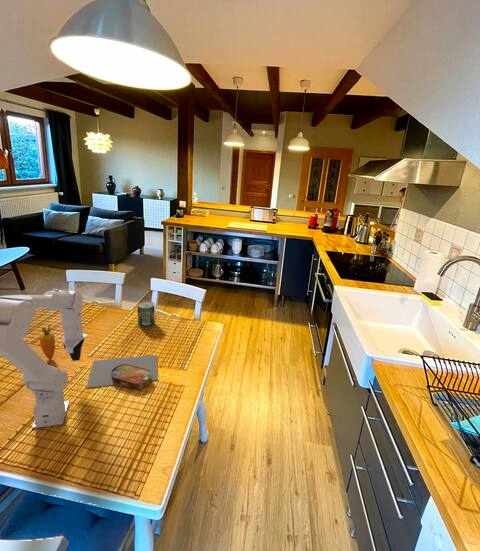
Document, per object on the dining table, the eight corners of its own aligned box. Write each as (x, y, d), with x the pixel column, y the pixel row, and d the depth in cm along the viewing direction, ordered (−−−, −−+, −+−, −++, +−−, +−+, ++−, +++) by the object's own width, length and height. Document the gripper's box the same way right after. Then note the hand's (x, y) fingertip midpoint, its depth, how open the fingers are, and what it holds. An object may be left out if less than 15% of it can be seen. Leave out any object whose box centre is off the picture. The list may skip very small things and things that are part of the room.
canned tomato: (135, 323, 152) (134, 303, 148) (150, 319, 157) (149, 299, 153) (142, 330, 147) (141, 309, 143) (157, 325, 152) (157, 305, 148)
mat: (157, 380, 114) (157, 379, 114) (86, 388, 108) (86, 387, 107) (156, 355, 129) (156, 354, 129) (93, 361, 122) (93, 360, 122)
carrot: (54, 354, 124) (49, 320, 119) (59, 359, 121) (55, 325, 116) (40, 359, 121) (35, 325, 116) (46, 364, 118) (40, 330, 113)
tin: (105, 375, 110) (120, 360, 118) (106, 381, 112) (121, 367, 119) (142, 386, 107) (155, 370, 114) (143, 393, 108) (156, 377, 115)
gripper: (81, 335, 97) (85, 371, 102) (89, 314, 110) (92, 347, 115) (56, 336, 95) (61, 373, 100) (67, 315, 108) (71, 348, 113)
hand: (76, 359), depth 107 cm, fingers closed
